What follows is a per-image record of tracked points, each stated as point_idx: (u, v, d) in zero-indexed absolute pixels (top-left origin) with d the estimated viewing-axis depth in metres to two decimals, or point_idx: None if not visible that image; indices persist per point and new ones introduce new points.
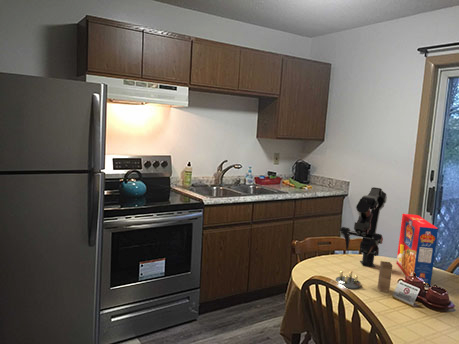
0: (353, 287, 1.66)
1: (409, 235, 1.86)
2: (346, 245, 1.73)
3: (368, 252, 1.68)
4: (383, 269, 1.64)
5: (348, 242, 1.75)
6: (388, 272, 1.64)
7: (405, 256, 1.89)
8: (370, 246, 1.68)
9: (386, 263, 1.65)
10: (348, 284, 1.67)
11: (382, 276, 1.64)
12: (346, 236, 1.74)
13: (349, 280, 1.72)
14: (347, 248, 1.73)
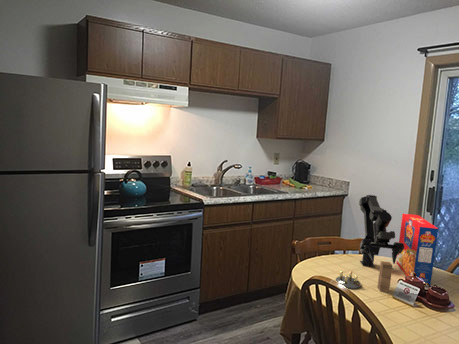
0: (353, 287, 1.66)
1: (409, 235, 1.86)
2: (372, 256, 1.71)
3: None
4: (383, 269, 1.64)
5: None
6: (388, 272, 1.64)
7: (405, 256, 1.89)
8: (395, 255, 1.71)
9: (387, 263, 1.65)
10: (348, 284, 1.67)
11: (382, 276, 1.64)
12: (370, 247, 1.73)
13: (349, 280, 1.72)
14: (373, 259, 1.71)
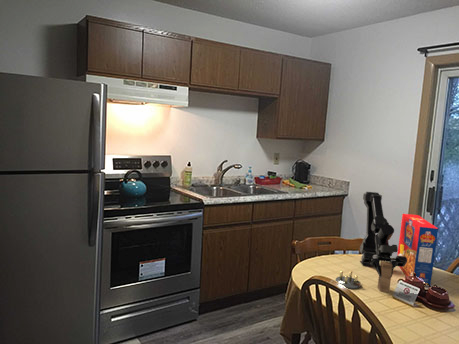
0: (353, 287, 1.66)
1: (409, 235, 1.86)
2: (379, 271, 1.66)
3: None
4: (383, 269, 1.64)
5: (379, 268, 1.67)
6: (388, 272, 1.64)
7: (405, 256, 1.89)
8: (392, 268, 1.66)
9: (386, 263, 1.65)
10: (348, 284, 1.67)
11: (382, 276, 1.64)
12: (377, 262, 1.67)
13: (349, 280, 1.72)
14: None
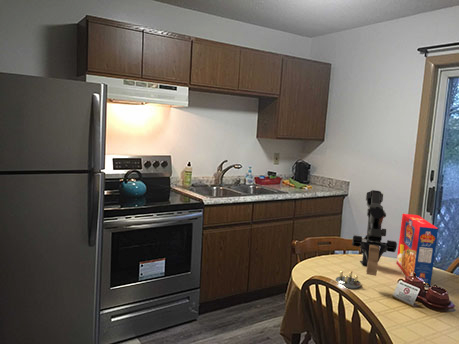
0: (353, 287, 1.66)
1: (409, 235, 1.86)
2: (367, 254, 1.66)
3: (379, 258, 1.64)
4: (370, 252, 1.64)
5: (368, 252, 1.68)
6: (375, 255, 1.64)
7: (405, 256, 1.89)
8: (380, 252, 1.65)
9: (374, 247, 1.65)
10: (348, 284, 1.67)
11: (369, 259, 1.65)
12: (366, 245, 1.68)
13: (349, 280, 1.72)
14: None
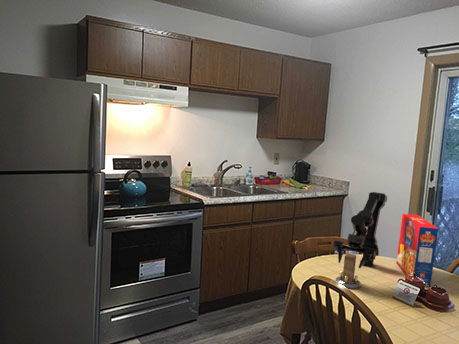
0: (353, 287, 1.66)
1: (409, 235, 1.86)
2: (338, 257, 1.72)
3: (360, 265, 1.66)
4: (345, 260, 1.68)
5: (341, 255, 1.73)
6: (349, 264, 1.67)
7: (405, 256, 1.89)
8: (362, 259, 1.67)
9: (350, 255, 1.68)
10: (348, 284, 1.67)
11: (344, 267, 1.69)
12: (339, 249, 1.74)
13: None
14: (339, 261, 1.71)
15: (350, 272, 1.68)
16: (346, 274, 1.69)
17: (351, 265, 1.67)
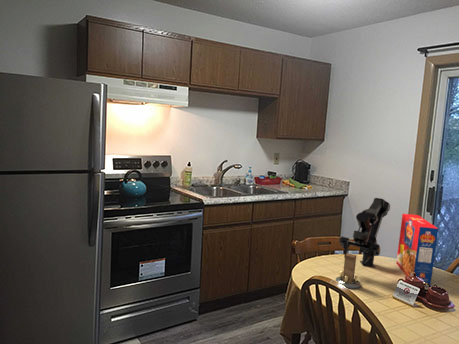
0: (353, 287, 1.66)
1: (409, 235, 1.86)
2: (344, 253, 1.79)
3: (365, 260, 1.73)
4: (345, 260, 1.69)
5: (347, 251, 1.81)
6: (349, 263, 1.68)
7: (405, 256, 1.89)
8: (367, 255, 1.74)
9: (350, 255, 1.69)
10: (348, 284, 1.67)
11: (344, 267, 1.69)
12: (345, 245, 1.81)
13: None
14: None
15: (350, 272, 1.68)
16: (346, 274, 1.69)
17: (351, 265, 1.68)
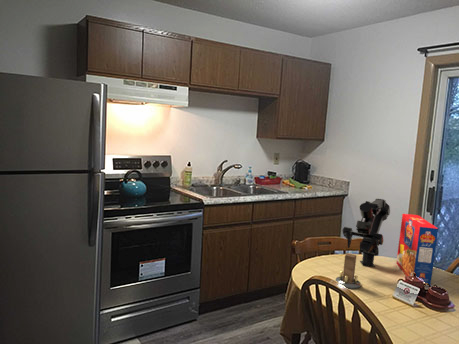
0: (353, 287, 1.66)
1: (409, 235, 1.86)
2: (348, 243, 1.81)
3: (368, 250, 1.75)
4: (345, 260, 1.69)
5: (350, 241, 1.82)
6: (349, 263, 1.68)
7: (405, 256, 1.89)
8: (371, 244, 1.76)
9: (350, 255, 1.69)
10: (348, 284, 1.67)
11: (344, 267, 1.69)
12: (348, 235, 1.83)
13: None
14: (348, 246, 1.80)
15: (350, 272, 1.68)
16: (346, 274, 1.69)
17: (351, 265, 1.68)
